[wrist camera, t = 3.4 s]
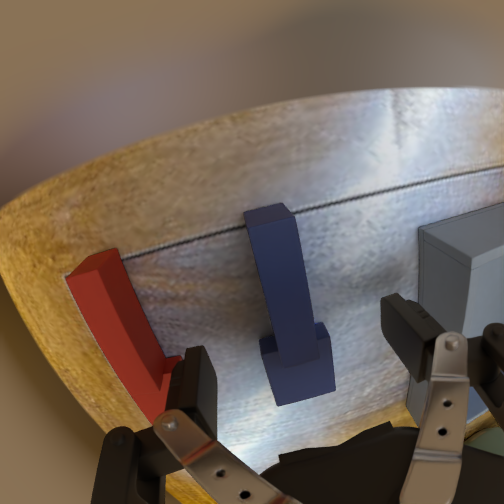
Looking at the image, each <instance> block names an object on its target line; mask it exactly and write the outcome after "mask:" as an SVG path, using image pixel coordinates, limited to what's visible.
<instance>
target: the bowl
mask: <svg viewBox="0 0 504 504" xmlns="http://www.w3.org/2000/svg"><path fill="white" fill-rule="evenodd" d="M463 444H465V445H468V446H471V447H474V448H478V449H481V450H484V451H487V452H491V453H494V454H498V455H501V456H504V432H503V430H502V429H501V428H500V427H495V428H486V429H483V430H481V431H479V432H477V433H476V434H474V435H473V436H471V437H470V438H468V439H467V440H466V441H464V442H463Z"/></svg>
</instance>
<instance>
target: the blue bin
mask: <svg viewBox="0 0 504 504" xmlns="http://www.w3.org/2000/svg"><path fill="white" fill-rule="evenodd" d="M418 303H419V304H420V305H421V306H422V307H423V308H424V309H425V311H427V312H428V313H429V314H430V316H432V317H433V318H434V319H435V320H436V321H437V322H438V323H439V324H440V325H441V326H442V327H443V328H444V329H445V330H446V331H447V332H449V331H454V332H458V333H461V334H462V335H464V336H465V337H466V338H472V337H477V336H482V334H483V330H484V328H485V326H487V325H488V324H490V323H502V324H504V202H503V203H500V204H497V205H494V206H490V207H487V208H484V209H480V210H477V211H474V212H470V213H467V214H463V215H460V216H457V217H453V218H450V219H446V220H443V221H440V222H436V223H433V224H429V225H426V226H422V227H419V301H418ZM500 371H501V372H502V373H503V375H504V372H503V371H502V370H500ZM427 387H428V382H427V381H426V380H424V381H422V382H420V383H418V384H417V382H416V381H415V379H414V378H413V377H412V375H411V379H410V386H409V392H408V397H407V403H406V407H407V409H408V411H409V412H410V414H411V416H412V417H413V419H414V421H415V423H416V424H417V426H418V427H419V423H420V419H421V415H422V411H423V406H424V402H425V397H426V392H427ZM488 410H489V409H488V408H487V406H486V405H485V403H484V402H483V400H482V399H481V398H480V396H479V395H478V393H477V392H476V390H475V389H474V388H473V387H469V401H468V412H467V421H466V424H468V423H470V422H471V421H473V420H474V419H476V418H478V417H479V416H481V415H482V414H484V413H485V412H487V411H488Z"/></svg>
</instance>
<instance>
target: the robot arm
mask: <svg viewBox="0 0 504 504" xmlns="http://www.w3.org/2000/svg"><path fill="white" fill-rule="evenodd" d="M380 304H381V329H382V333H383V335H384V337H385V339H386V340H387V342H388V343H389V344H390V346H391V347H392V349H393V350H394V351H395V353H396V354H397V355H398V357H399V358H400V360H401V361H402V362H403V364H404V365H405V367H406V368H407V369H408V371H409V372H410V374H411V375H412V377H413V378H414V379H415V381H416V382H417V384H418V383H420V382H422V381H424V380H426V381H427V382H428V387H427V392H426V397H425V402H424V406H423V411H422V415H421V419H420V423H419V427H418V428H415V427H394V428H393V426H392V424H391V423H390V421H388V422H386V423H383V424H380V425H378V426H375V427H373V428H370V429H367V430H364V431H362V432H361V433H359V434H358V435H356V436H354V437H352V438H351V439H349V440H347V441H346V442H344V443H342V444H340V445H338V446H331V447H318V448H305V449H301V450H297V451H293V452H289V453H284V454H280V455H278V456H279V461H280V462H279V463H277V464H274V465H273V466H271V467H269V468H268V469H266V470H265V471H263V472H262V473H261V474H260V475H258V474H257V473H256V472H255V471H253V470H252V469H251V468H250V467H248V466H247V465H246V464H245V463H243V462H242V461H241V460H240V459H239V458H237V457H236V456H235V455H234V454H233V453H231V452H230V451H229V450H228V449H227V448H226V447H224V446H223V445H222V444H221V443H220V442H219V441H217V376H216V373H215V370H214V367H213V365H212V363H211V360H210V358H209V356H208V353H207V351H206V349H205V347H204V346H203V345H201V346H196V347H191V348H187V349H186V353H185V359H184V360H182V361H178V362H177V363H176V365H175V366H174V368H173V369H172V373H171V380H170V383H169V388H168V394H167V399H166V405H165V411H164V412H162V413H161V414H159V415H158V416H157V417H156V418H155V420H154V422H153V426H151V427H149V428H146V429H144V430H141V431H138V432H135V433H134V432H133V431H132V430H131V429H130V428H128V427H125V426H120V427H116V428H114V429H112V430H111V431H109V432H108V433H107V435H106V436H105V438H104V441H103V446H102V450H101V454H100V459H99V463H98V468H97V473H96V478H95V483H94V488H93V493H92V499H91V504H165V483H166V475H167V474H170V473H173V472H176V471H179V470H181V469H184V468H185V469H186V471H187V472H188V473H189V474H190V475H191V476H192V477H193V478H194V479H195V480H196V482H197V483H198V484H199V485H200V486H201V487H202V488H203V489H204V490H205V491H206V492H207V493H208V494H209V495H210V496H211V497H212V498H213V499H214V500H215V501H216V502H217V503H218V504H504V456H501V455H498V454H494V453H491V452H487V451H484V450H481V449H478V448H474V447H471V446H468V445H465V444H463V442H464V436H465V429H466V421H467V412H468V401H469V387H473V388H474V389H475V390H476V392H477V393H478V395H479V396H480V398H481V399H482V400H483V402H484V403H485V405H486V406H487V408H488V409H489V411H490V412H491V414H492V415H493V416H494V418H495V420H496V421H497V423H498V424H499V426H500V427H501V429H502V430H503V432H504V375H503V373H502V372H501V371H500V370H502V371H503V372H504V324H502V323H490V324H488V325H487V326H485V328H484V330H483V334H482V336H477V337H472V338H466V337H465V336H464V335H462V334H461V333H458V332H454V331H449V332H447V331H446V330H445V329H444V328H443V327H442V326H441V325H440V324H439V323H438V322H437V321H436V320H435V319H434V318H433V317H432V316H430V314H429V313H428V312H427V311H425V309H424V308H423V307H422V306H421V305H420V304H419V303H416V302H414V301H412V300H406V301H405V300H404V299H403V298H402V297H401V296H400V295H399V294H398V293H394V294H391V295H388V296H385V297H382V298H381V301H380Z"/></svg>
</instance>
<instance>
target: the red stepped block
mask: <svg viewBox="0 0 504 504" xmlns="http://www.w3.org/2000/svg"><path fill="white" fill-rule="evenodd" d="M66 282H67V284H68V286H69V288H70V290H71V292H72V294H73V297H74V299H75V301H76V303H77V305H78V307H79V309H80V311H81V313H82V315H83V317H84V319H85V320H86V322H87V324H88V326H89V328H90V330H91V332H92V333H93V335H94V337H95V339H96V341H97V342H98V344H99V346H100V348H101V349H102V351H103V353H104V354H105V356H106V358H107V359H108V361H109V363H110V364H111V366H112V368H113V369H114V371H115V372H116V374H117V375H118V377H119V379H120V380H121V382H122V383H123V385H124V386H125V388H126V389H127V391H128V392H129V394H130V395H131V397H132V398H133V399H134V401H135V402H136V404H137V405H138V407H139V408H140V409H141V411H142V412H143V413H144V415H145V416H146V418H147V419H148V420H149V422H150V423H151V424H152V425H153V422H154V420H155V418H156V417H157V416H158V415H159V414H161V413H162V412H164V411H165V405H166V399H167V394H168V388H169V383H170V380H171V373H172V369H173V368H174V366H175V365H176V363H177V362H178V361H182V358H181V356H176V357H170V358H165V356H164V354H163V352H162V350H161V348H160V346H159V344H158V342H157V340H156V338H155V336H154V334H153V332H152V330H151V327H150V325H149V323H148V321H147V319H146V317H145V315H144V312H143V310H142V308H141V306H140V304H139V301H138V299H137V297H136V295H135V292H134V290H133V288H132V285H131V283H130V280H129V278H128V276H127V273H126V271H125V268H124V266H123V263H122V261H121V258H120V256H119V253H118V250H117V248H114V249H111V250H108V251H104V252H101V253H98V254H95V255H92V256H88V257H87V258H86V259H85V260H84V261H83V262H82V263H81V264H80V265H79V266H78V267H77V268H76V269H75V270H74V271H73V272H72V273H71V274H70V275H69V276H68V277H67V278H66Z"/></svg>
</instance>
